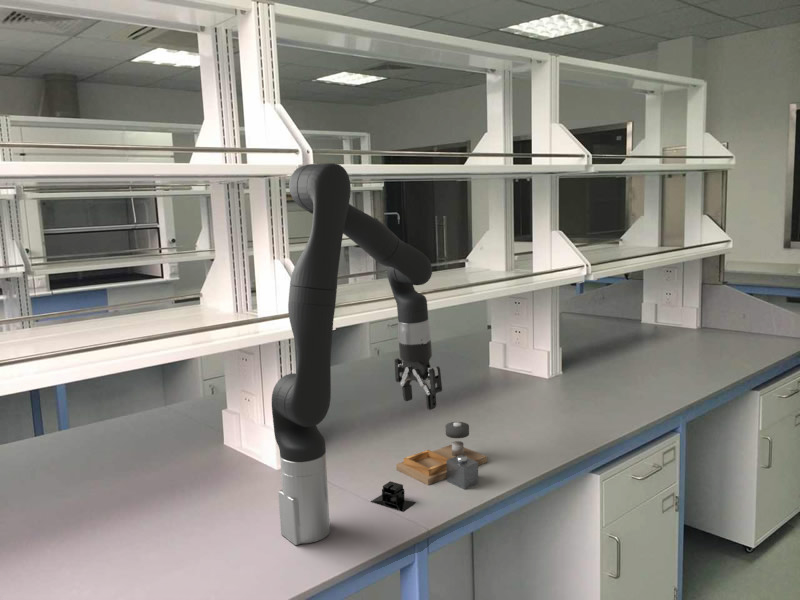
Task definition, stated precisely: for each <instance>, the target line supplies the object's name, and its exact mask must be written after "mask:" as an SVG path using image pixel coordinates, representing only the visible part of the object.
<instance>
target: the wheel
mask: <svg viewBox="0 0 800 600" xmlns="http://www.w3.org/2000/svg"><path fill="white" fill-rule="evenodd" d="M445 436H446V437H448V438H451V439H464V438H467V437H469V436H470V425H469V423H466V422H463V421H462V422H461V421H453V422H447V424H445Z"/></svg>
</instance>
